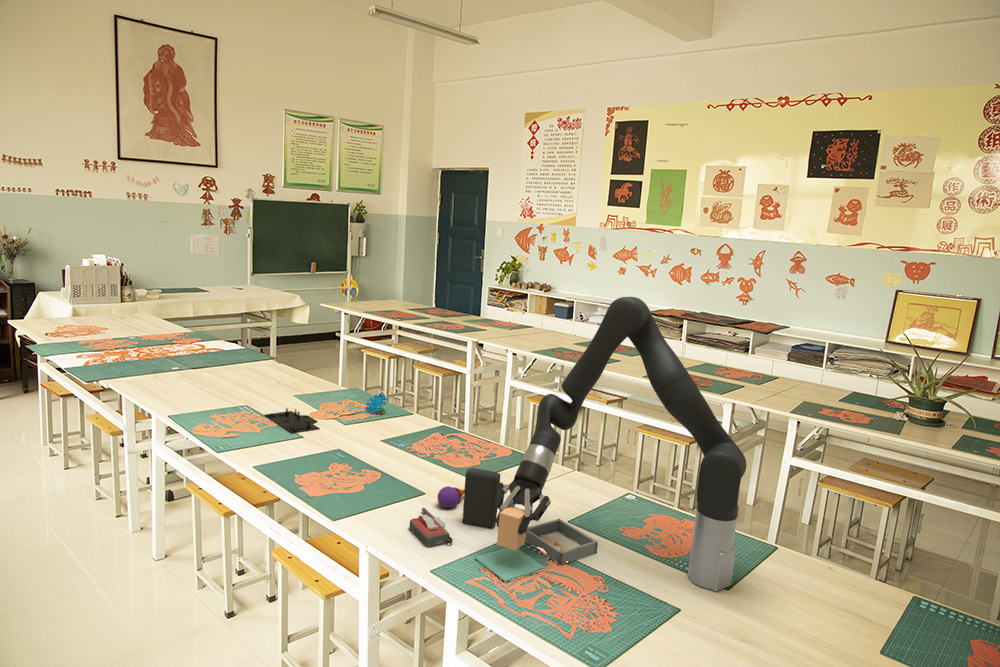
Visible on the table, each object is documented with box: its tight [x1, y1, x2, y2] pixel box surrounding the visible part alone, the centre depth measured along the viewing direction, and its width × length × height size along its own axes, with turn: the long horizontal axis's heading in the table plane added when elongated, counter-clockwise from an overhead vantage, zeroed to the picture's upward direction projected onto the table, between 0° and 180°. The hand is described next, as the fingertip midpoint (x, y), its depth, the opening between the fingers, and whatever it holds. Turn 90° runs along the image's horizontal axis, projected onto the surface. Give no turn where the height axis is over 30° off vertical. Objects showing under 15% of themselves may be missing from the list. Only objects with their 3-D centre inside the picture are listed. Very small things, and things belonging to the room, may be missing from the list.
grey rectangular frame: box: [525, 518, 599, 566], centre depth 166 cm, size 15×13×3 cm
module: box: [496, 505, 526, 551], centre depth 153 cm, size 5×5×8 cm
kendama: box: [437, 485, 465, 509], centre depth 189 cm, size 6×6×20 cm
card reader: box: [462, 467, 501, 529], centre depth 174 cm, size 9×4×15 cm, turn 77°
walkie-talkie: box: [408, 507, 453, 548], centre depth 169 cm, size 9×4×20 cm
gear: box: [365, 392, 388, 415], centre depth 268 cm, size 11×6×10 cm
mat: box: [474, 547, 546, 583], centre depth 155 cm, size 12×12×1 cm
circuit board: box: [263, 407, 321, 435], centre depth 247 cm, size 25×14×3 cm, turn 42°
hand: (509, 529), depth 152 cm, fingers closed on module, 5 cm apart
